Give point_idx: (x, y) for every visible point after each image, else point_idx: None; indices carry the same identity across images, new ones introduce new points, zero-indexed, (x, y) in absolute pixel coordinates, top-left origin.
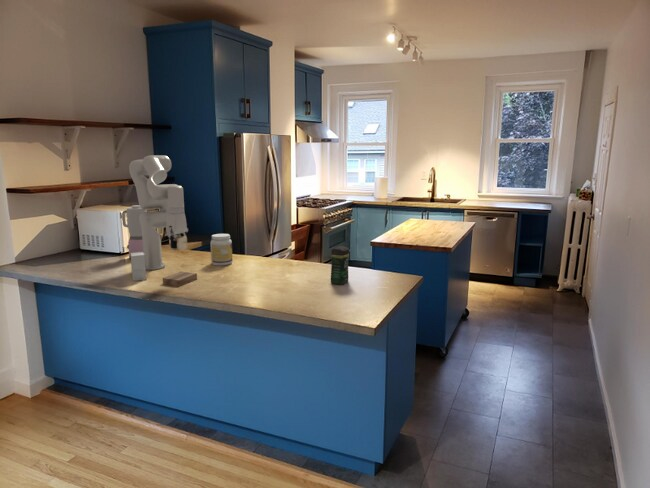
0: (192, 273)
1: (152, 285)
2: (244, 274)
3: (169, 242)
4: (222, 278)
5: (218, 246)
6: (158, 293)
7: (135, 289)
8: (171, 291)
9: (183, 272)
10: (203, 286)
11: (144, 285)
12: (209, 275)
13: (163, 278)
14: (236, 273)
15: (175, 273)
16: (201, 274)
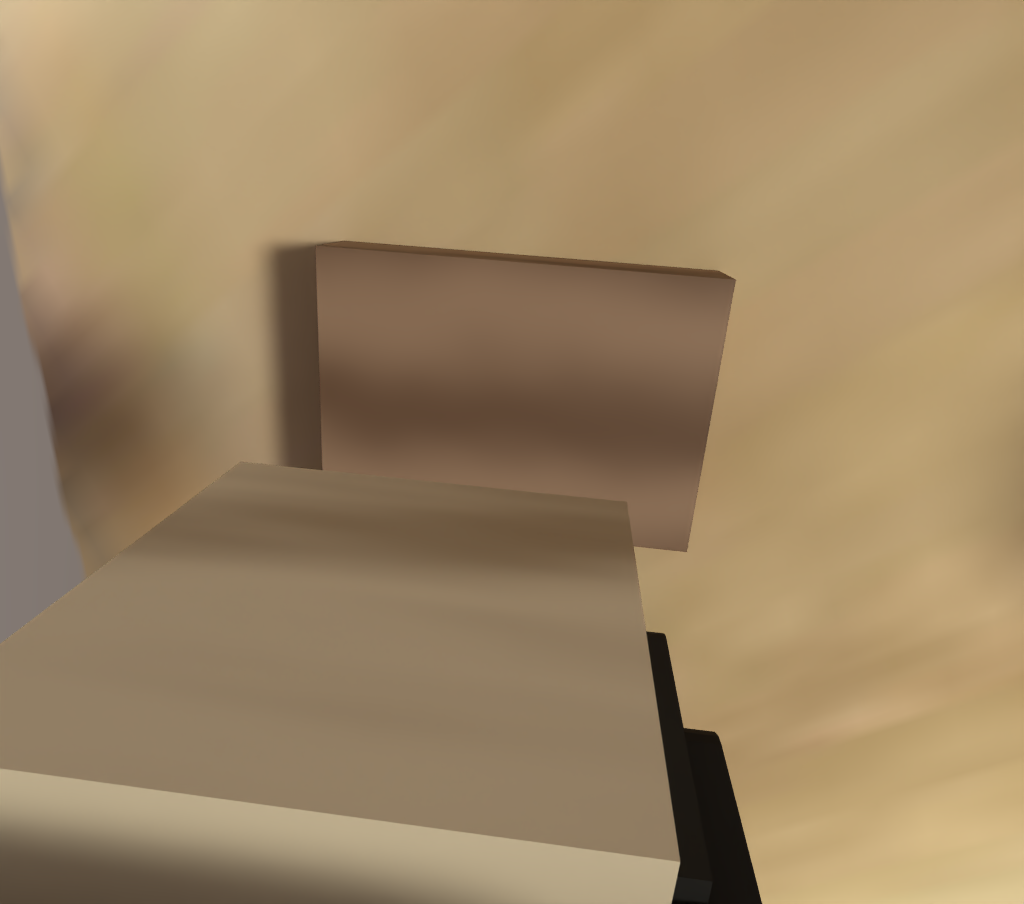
0: (668, 502)
1: (239, 145)
2: (979, 878)
3: (83, 591)
4: (771, 747)
5: None
6: (52, 419)
7: (8, 46)
8: (167, 503)
9: (688, 355)
10: None
11: (190, 31)
12: (875, 575)
13: (317, 262)
14: (1015, 802)
15: (602, 271)
16: (910, 462)
